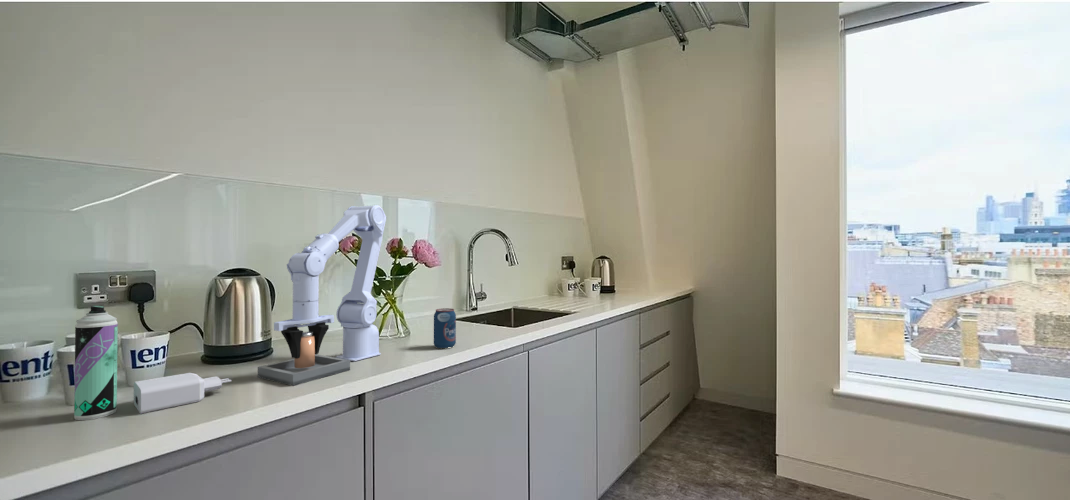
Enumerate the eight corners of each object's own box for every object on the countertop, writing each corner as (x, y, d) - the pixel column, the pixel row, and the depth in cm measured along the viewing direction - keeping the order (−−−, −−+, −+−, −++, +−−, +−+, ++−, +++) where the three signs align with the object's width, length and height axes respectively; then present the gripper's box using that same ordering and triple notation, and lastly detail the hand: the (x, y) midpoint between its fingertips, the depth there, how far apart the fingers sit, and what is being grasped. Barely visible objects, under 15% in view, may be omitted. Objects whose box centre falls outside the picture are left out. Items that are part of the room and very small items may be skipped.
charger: (236, 395, 91) (140, 415, 79) (223, 386, 97) (133, 404, 85) (236, 373, 91) (140, 390, 79) (223, 365, 97) (133, 380, 85)
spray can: (75, 414, 79) (76, 305, 80) (116, 407, 83) (117, 303, 83) (73, 422, 75) (74, 308, 76) (116, 414, 79) (118, 306, 79)
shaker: (308, 363, 110) (307, 330, 110) (318, 364, 108) (318, 331, 108) (290, 367, 106) (290, 333, 106) (301, 368, 104) (300, 334, 104)
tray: (315, 363, 117) (315, 354, 117) (350, 370, 110) (350, 360, 110) (257, 377, 103) (257, 366, 103) (293, 385, 97) (293, 374, 97)
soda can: (449, 350, 133) (449, 311, 133) (429, 348, 135) (429, 310, 135) (459, 345, 140) (459, 308, 140) (440, 344, 142) (440, 307, 142)
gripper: (322, 297, 115) (321, 348, 115) (266, 302, 102) (266, 360, 102) (339, 298, 112) (339, 351, 112) (284, 304, 99) (283, 363, 99)
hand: (305, 355), depth 107 cm, fingers closed on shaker, 4 cm apart
